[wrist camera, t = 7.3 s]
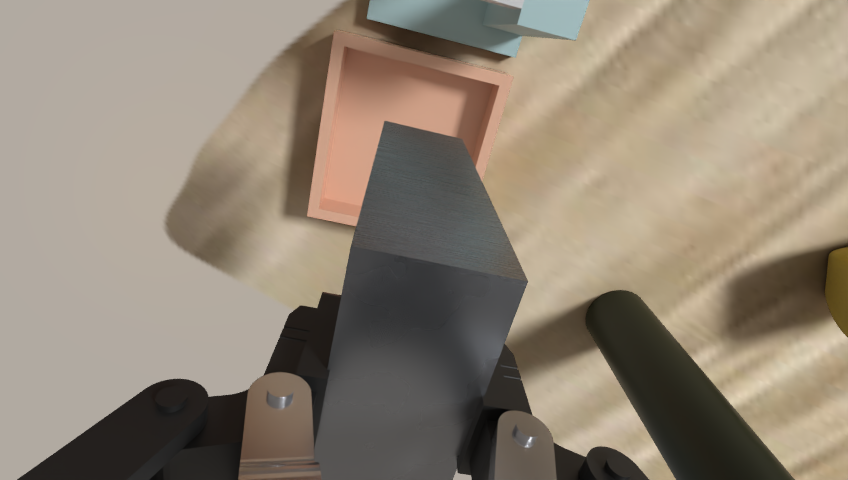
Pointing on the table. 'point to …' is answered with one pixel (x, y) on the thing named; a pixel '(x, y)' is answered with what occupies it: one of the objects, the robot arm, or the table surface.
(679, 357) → the wine bottle
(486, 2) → the peg stand
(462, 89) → the tray
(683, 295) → the table surface
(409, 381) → the grey arch block
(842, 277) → the flower pot
